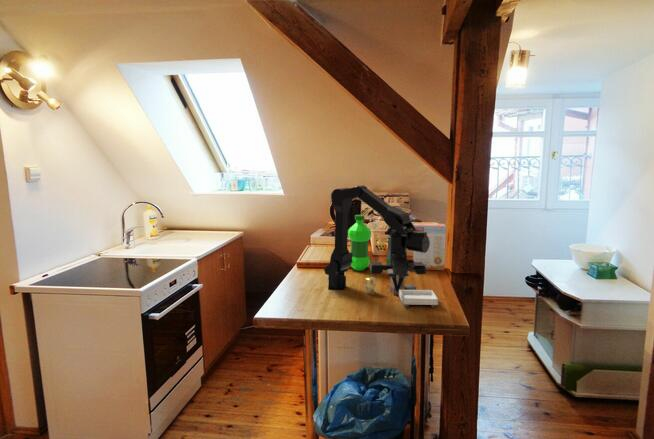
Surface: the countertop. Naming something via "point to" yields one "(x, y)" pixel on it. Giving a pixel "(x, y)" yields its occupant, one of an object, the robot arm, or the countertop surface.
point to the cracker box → (432, 246)
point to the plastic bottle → (359, 244)
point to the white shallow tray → (418, 297)
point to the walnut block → (392, 288)
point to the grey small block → (409, 287)
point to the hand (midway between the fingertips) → (396, 291)
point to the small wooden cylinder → (370, 285)
